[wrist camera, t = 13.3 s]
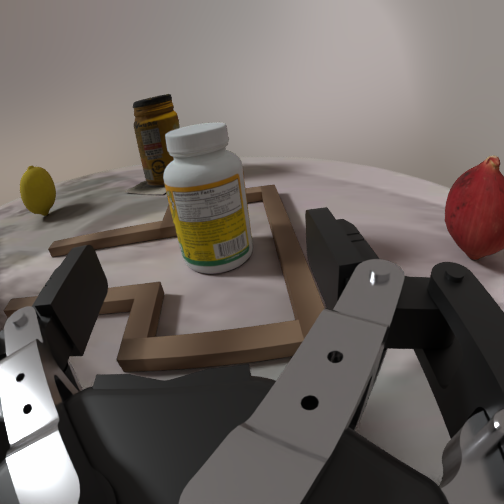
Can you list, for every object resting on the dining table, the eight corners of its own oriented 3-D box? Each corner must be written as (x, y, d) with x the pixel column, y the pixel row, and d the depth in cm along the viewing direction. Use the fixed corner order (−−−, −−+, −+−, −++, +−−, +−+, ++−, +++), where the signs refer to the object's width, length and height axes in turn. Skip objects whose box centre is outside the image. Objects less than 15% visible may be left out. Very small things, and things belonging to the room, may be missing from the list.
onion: (434, 269, 19) (452, 156, 15) (440, 232, 23) (451, 138, 18) (505, 288, 16) (537, 177, 12) (500, 247, 20) (519, 154, 15)
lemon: (58, 204, 42) (44, 157, 38) (65, 211, 38) (48, 159, 34) (29, 219, 39) (13, 172, 35) (32, 228, 35) (14, 175, 31)
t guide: (-16, 365, 15) (-24, 355, 14) (74, 227, 33) (72, 220, 32) (333, 348, 15) (334, 335, 14) (275, 193, 33) (274, 184, 32)
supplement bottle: (242, 278, 21) (219, 132, 16) (172, 273, 22) (137, 143, 17) (261, 237, 25) (246, 117, 20) (199, 236, 27) (177, 125, 22)
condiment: (201, 172, 43) (187, 89, 37) (163, 195, 37) (142, 100, 30) (163, 172, 46) (148, 97, 40) (124, 194, 40) (104, 110, 34)
